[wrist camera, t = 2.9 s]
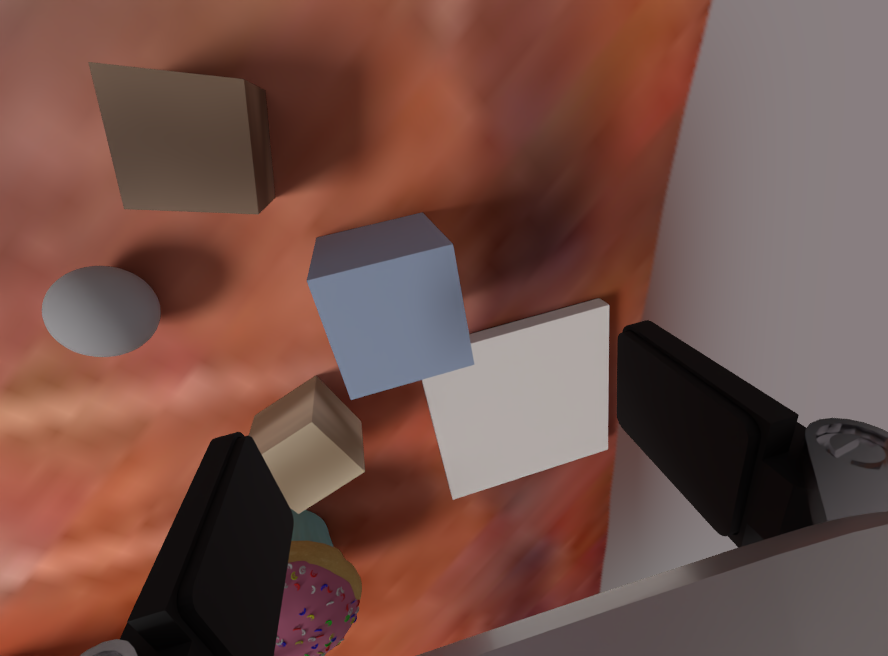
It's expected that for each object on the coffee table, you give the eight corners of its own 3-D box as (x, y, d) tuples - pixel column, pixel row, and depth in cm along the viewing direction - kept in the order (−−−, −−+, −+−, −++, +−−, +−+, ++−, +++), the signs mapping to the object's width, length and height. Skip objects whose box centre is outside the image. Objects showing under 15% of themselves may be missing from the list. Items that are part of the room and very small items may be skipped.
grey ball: (56, 266, 17) (-10, 299, 14) (147, 245, 17) (104, 272, 14) (106, 341, 18) (58, 385, 15) (188, 320, 19) (157, 359, 16)
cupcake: (237, 590, 27) (171, 884, 17) (193, 501, 23) (71, 810, 13) (367, 558, 29) (382, 809, 18) (346, 469, 25) (350, 722, 14)
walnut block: (148, 78, 15) (88, 62, 11) (265, 90, 16) (243, 79, 12) (170, 192, 17) (124, 208, 13) (275, 197, 18) (258, 214, 14)
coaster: (413, 349, 22) (416, 358, 21) (599, 298, 23) (609, 304, 22) (449, 487, 27) (452, 499, 26) (599, 439, 29) (608, 449, 28)
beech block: (254, 414, 22) (238, 469, 18) (316, 374, 22) (311, 421, 18) (304, 457, 24) (298, 514, 20) (361, 420, 24) (364, 471, 20)
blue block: (316, 237, 19) (306, 280, 13) (422, 212, 19) (453, 244, 14) (348, 331, 21) (350, 400, 16) (441, 306, 21) (474, 364, 16)
